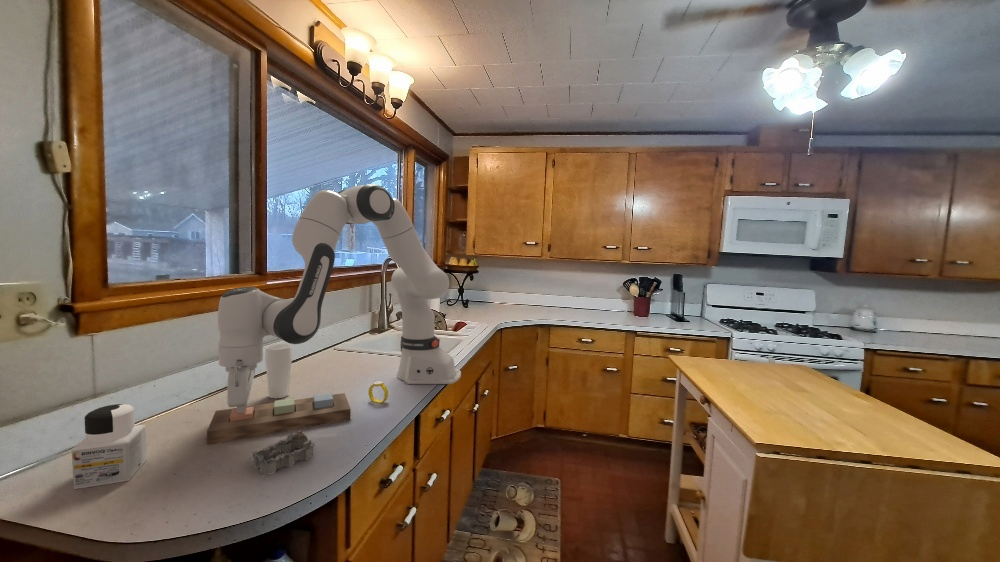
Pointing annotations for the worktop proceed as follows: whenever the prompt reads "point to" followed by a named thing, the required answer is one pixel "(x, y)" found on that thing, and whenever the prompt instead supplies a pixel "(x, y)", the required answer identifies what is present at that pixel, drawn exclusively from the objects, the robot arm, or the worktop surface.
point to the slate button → (323, 401)
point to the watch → (380, 383)
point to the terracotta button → (242, 414)
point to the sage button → (284, 406)
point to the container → (109, 447)
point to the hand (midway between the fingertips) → (242, 410)
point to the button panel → (276, 419)
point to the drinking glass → (278, 369)
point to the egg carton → (283, 453)
